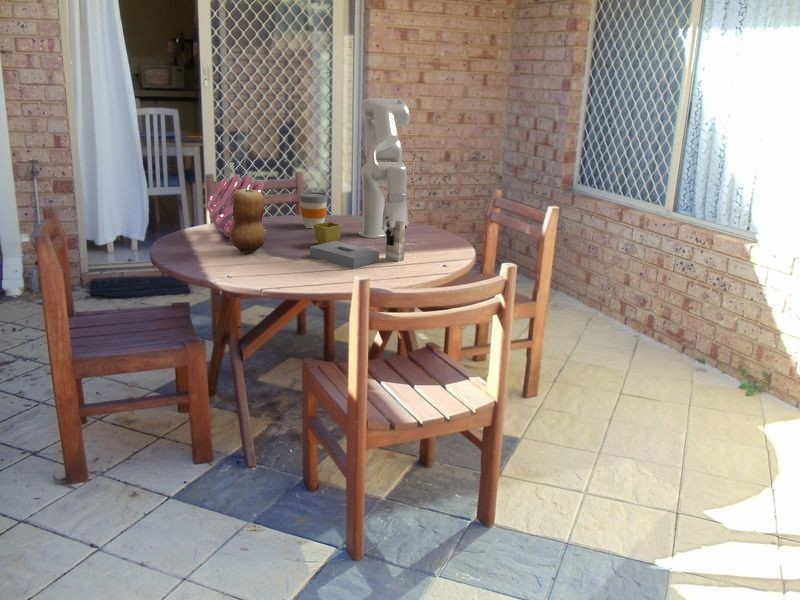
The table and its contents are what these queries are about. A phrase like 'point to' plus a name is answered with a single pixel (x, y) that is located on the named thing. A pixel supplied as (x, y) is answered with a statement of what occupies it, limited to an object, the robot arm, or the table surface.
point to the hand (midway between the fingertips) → (395, 243)
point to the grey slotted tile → (344, 254)
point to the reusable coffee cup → (313, 208)
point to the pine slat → (397, 243)
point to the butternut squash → (248, 220)
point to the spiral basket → (228, 209)
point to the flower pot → (327, 232)
